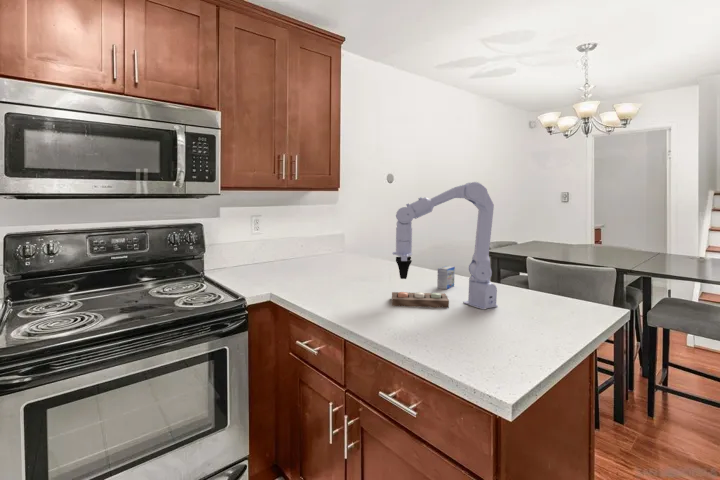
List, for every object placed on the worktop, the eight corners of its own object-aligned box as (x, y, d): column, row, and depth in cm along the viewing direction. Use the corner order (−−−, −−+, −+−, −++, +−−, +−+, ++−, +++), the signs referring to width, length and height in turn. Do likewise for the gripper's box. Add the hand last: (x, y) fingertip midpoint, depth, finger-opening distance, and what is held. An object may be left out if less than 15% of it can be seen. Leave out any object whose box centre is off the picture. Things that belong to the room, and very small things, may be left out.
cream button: (423, 299, 146) (424, 292, 146) (424, 301, 142) (424, 294, 142) (414, 298, 146) (414, 292, 146) (414, 301, 143) (414, 294, 142)
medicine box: (446, 289, 165) (447, 269, 164) (436, 288, 167) (437, 268, 166) (454, 286, 171) (455, 266, 170) (444, 284, 174) (445, 265, 173)
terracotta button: (407, 298, 146) (407, 292, 146) (407, 301, 143) (408, 294, 143) (397, 298, 147) (397, 291, 146) (397, 301, 143) (398, 294, 143)
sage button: (440, 299, 145) (440, 292, 145) (441, 302, 142) (441, 295, 142) (430, 299, 146) (430, 292, 145) (431, 301, 142) (431, 295, 142)
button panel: (445, 300, 149) (445, 293, 148) (448, 307, 139) (448, 300, 138) (391, 298, 150) (392, 292, 150) (391, 306, 140) (391, 299, 140)
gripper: (392, 238, 150) (392, 273, 151) (392, 242, 135) (392, 281, 137) (411, 238, 149) (410, 273, 151) (413, 243, 135) (412, 282, 136)
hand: (403, 277), depth 144 cm, fingers open, 4 cm apart
